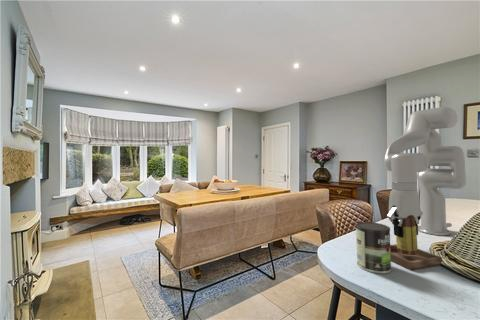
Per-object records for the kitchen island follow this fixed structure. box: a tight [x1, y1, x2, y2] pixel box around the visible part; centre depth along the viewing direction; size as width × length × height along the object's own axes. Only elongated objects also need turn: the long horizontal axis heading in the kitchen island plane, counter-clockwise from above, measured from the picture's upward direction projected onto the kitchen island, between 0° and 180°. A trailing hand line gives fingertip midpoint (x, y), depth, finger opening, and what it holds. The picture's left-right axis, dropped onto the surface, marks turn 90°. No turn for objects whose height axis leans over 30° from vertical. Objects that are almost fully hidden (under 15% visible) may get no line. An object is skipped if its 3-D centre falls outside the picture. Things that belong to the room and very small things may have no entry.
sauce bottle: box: [395, 215, 419, 255], centre depth 81 cm, size 7×6×20 cm
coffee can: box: [355, 221, 392, 275], centre depth 76 cm, size 10×10×14 cm
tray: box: [390, 243, 443, 271], centre depth 81 cm, size 14×14×2 cm
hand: (406, 234), depth 81 cm, fingers closed on sauce bottle, 6 cm apart
